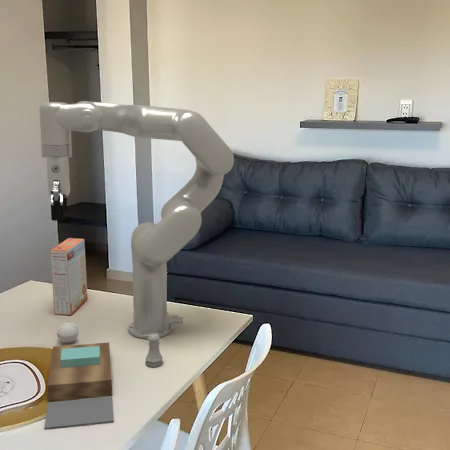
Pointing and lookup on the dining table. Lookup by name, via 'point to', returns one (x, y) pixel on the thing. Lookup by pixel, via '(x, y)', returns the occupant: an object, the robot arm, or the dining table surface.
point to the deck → (79, 376)
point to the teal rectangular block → (80, 356)
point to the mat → (79, 412)
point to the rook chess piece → (154, 351)
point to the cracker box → (68, 276)
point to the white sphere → (67, 332)
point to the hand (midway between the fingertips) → (59, 216)
